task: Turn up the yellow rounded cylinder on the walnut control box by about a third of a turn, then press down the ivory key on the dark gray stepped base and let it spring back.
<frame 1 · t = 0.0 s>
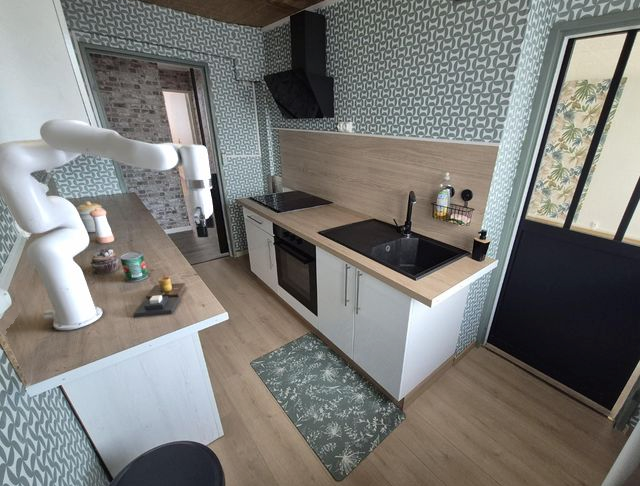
hand: (206, 232, 103), 31 cm above the table, tool pointing down, fingers open, 9 cm apart
jar: (96, 229, 182), on the table
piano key: (156, 299, 110), point 4 cm above the table, slide at 0.1 cm
salt shaker: (106, 241, 166), on the table
dark gray stepped base: (158, 308, 111), on the table
cupcake: (107, 270, 136), on the table
canned tomato: (137, 277, 131), on the table
yellow rounded cylinder: (165, 283, 118), point 5 cm above the table, hinge at 0.0°
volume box: (167, 294, 120), on the table
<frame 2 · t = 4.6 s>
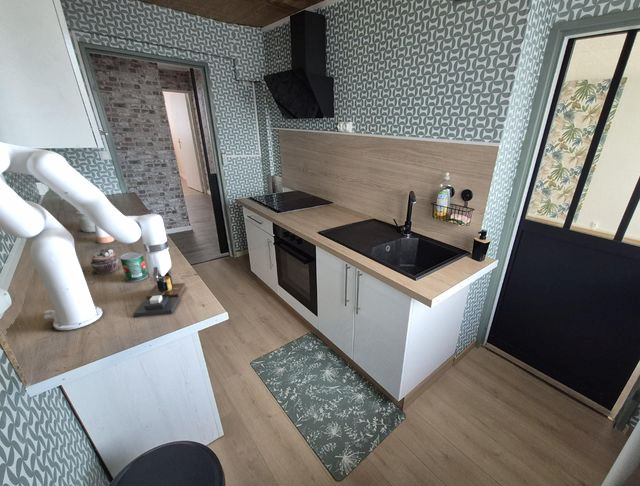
hand: (165, 287, 119), 4 cm above the table, tool pointing down, fingers closed on yellow rounded cylinder, 4 cm apart
yellow rounded cylinder: (165, 283, 118), point 5 cm above the table, hinge at 0.1°, touching gripper
everything else where it was.
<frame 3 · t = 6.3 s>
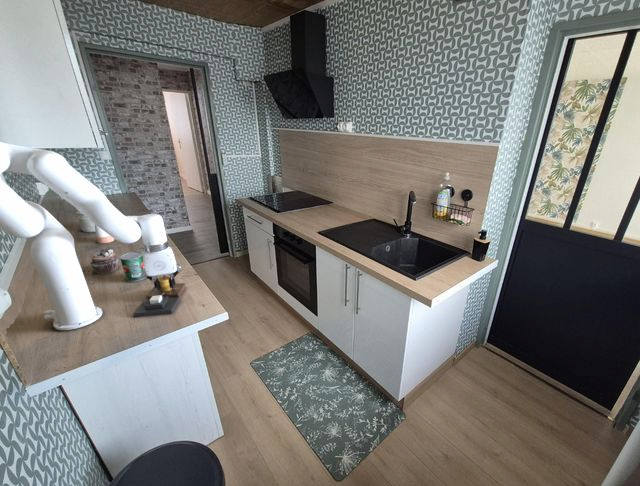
hand: (165, 287, 119), 4 cm above the table, tool pointing down, fingers closed on yellow rounded cylinder, 4 cm apart
yellow rounded cylinder: (165, 283, 118), point 5 cm above the table, hinge at 104.5°, touching gripper
everything else where it was.
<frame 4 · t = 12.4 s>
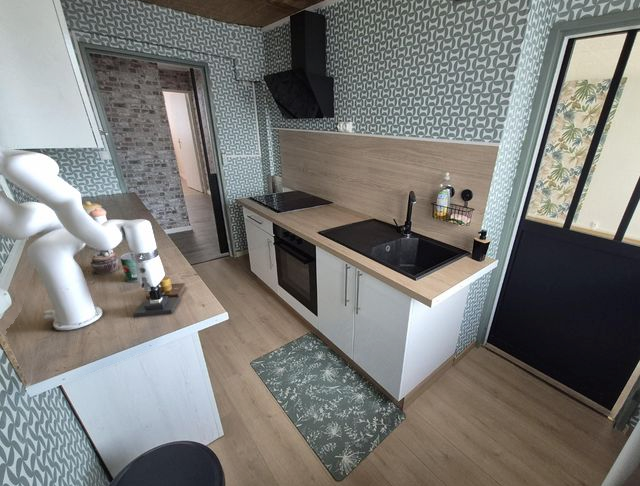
hand: (156, 298, 110), 4 cm above the table, tool pointing down, fingers closed
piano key: (156, 300, 110), point 4 cm above the table, slide at -0.4 cm, touching gripper
yellow rounded cylinder: (165, 283, 118), point 5 cm above the table, hinge at 104.5°
everything else where it was.
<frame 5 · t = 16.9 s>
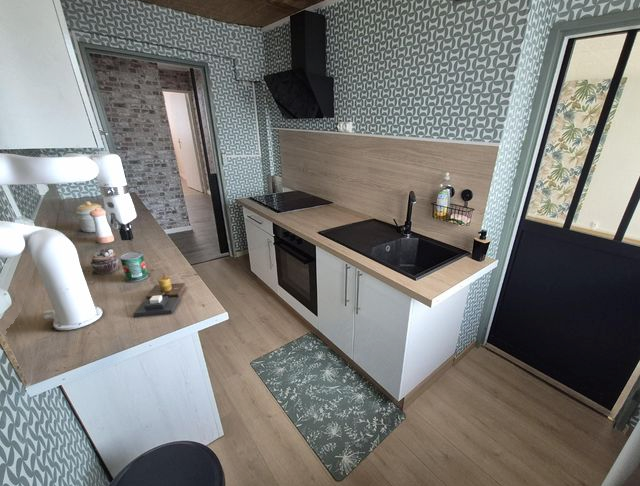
hand: (127, 239, 108), 25 cm above the table, tool pointing down, fingers closed
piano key: (156, 299, 110), point 4 cm above the table, slide at 0.1 cm
everything else where it was.
at the end: yellow rounded cylinder at +104° (first picture: +0°); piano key pushed in 1.1 cm at the most during the clip, back to where it started at the end; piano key slide at 0.1 cm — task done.
